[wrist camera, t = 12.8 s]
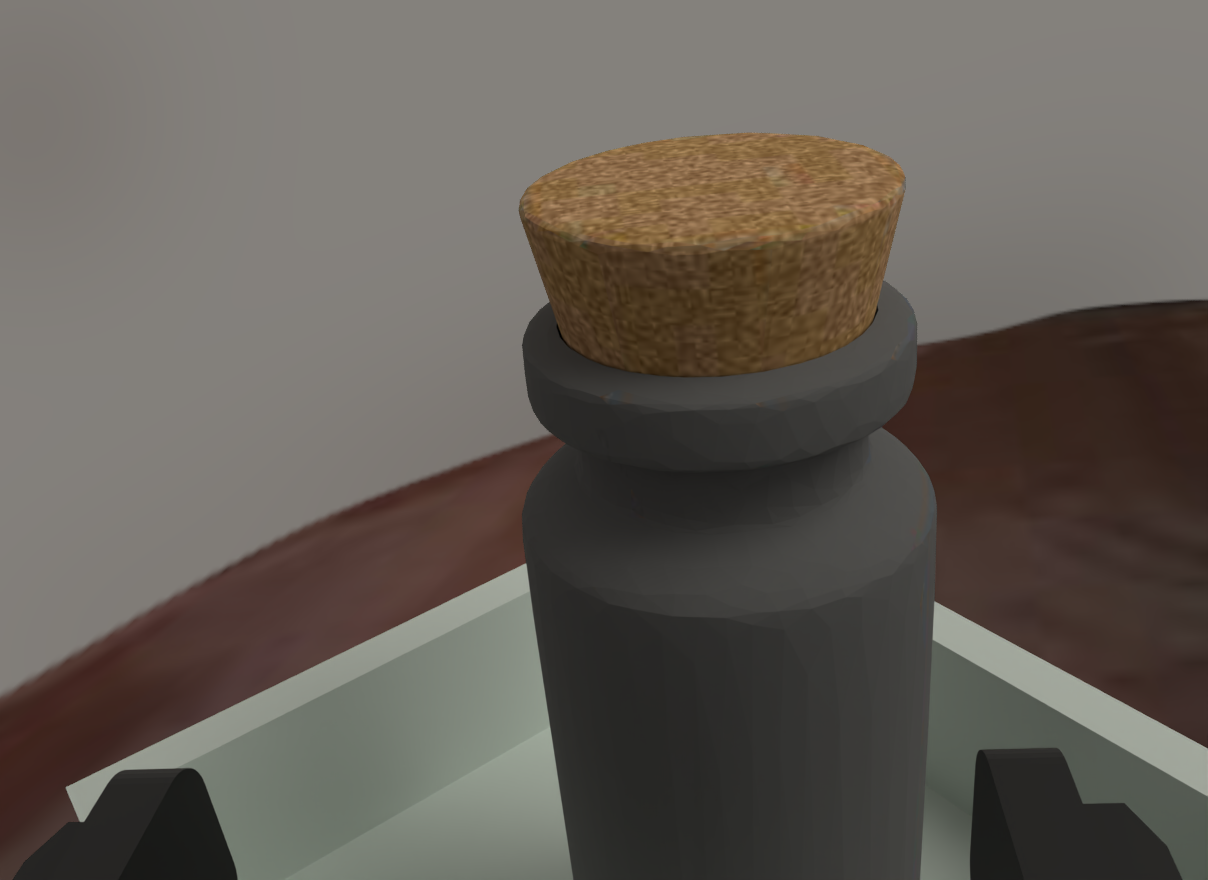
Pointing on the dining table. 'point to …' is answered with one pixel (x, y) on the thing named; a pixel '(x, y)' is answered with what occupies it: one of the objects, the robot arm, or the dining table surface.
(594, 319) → the bottle
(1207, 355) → the dining table surface
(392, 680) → the bin
